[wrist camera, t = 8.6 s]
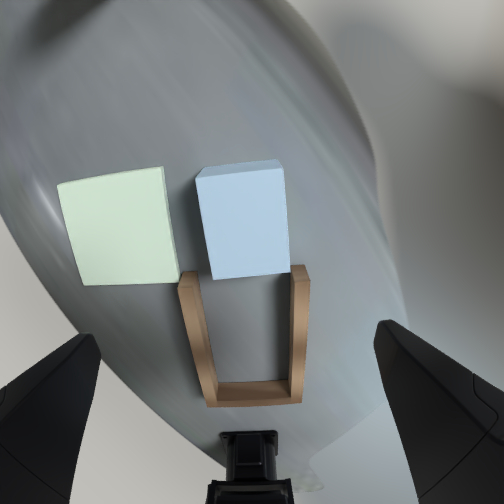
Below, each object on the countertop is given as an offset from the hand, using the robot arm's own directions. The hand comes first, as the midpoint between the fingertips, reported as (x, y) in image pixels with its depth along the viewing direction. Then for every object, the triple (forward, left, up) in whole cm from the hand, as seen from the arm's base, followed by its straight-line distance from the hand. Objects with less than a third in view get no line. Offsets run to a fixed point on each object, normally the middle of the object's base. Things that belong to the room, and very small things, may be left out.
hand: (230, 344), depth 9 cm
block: (0, 0, -12) cm, 12 cm away
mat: (-1, +9, -12) cm, 15 cm away
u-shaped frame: (-11, 0, -12) cm, 16 cm away
